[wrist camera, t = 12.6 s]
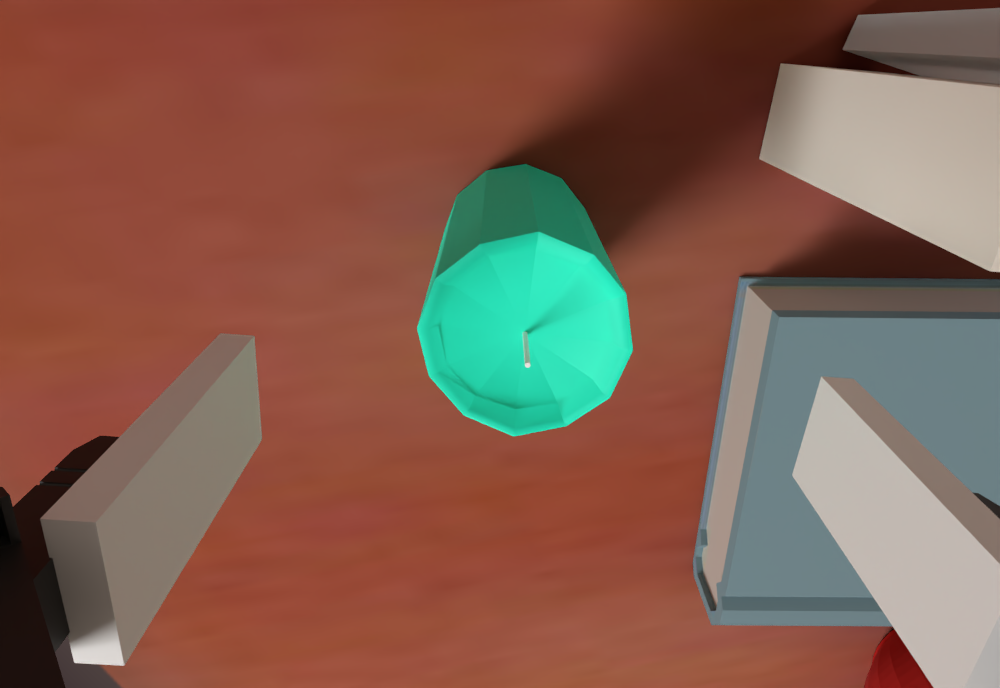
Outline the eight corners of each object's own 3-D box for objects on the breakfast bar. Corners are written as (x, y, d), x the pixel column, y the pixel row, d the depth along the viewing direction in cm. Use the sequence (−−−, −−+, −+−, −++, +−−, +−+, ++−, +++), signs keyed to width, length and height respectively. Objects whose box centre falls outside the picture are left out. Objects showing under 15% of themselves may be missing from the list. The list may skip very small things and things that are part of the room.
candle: (577, 311, 30) (623, 472, 19) (439, 297, 30) (404, 453, 19) (600, 171, 27) (667, 264, 16) (450, 156, 27) (416, 239, 16)
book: (1258, 278, 30) (1397, 322, 25) (1116, 566, 36) (1205, 643, 32) (736, 273, 30) (779, 317, 25) (689, 563, 36) (716, 640, 32)
